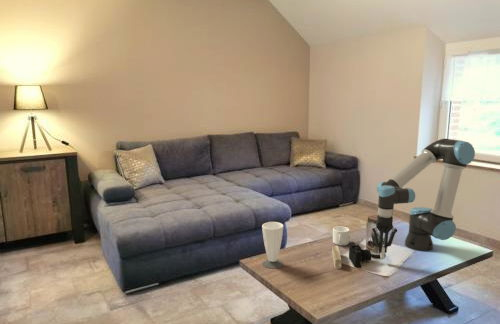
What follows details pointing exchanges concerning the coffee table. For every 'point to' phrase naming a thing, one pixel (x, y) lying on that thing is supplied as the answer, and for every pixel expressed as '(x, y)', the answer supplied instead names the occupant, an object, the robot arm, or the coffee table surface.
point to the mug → (341, 235)
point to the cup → (272, 243)
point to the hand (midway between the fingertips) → (382, 258)
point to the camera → (358, 255)
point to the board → (336, 257)
